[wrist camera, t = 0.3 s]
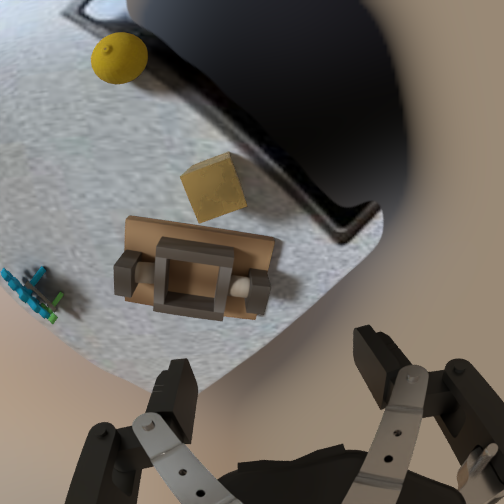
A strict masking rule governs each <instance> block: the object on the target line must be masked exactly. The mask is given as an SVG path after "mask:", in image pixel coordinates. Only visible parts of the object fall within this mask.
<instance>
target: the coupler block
mask: <svg viewBox="0 0 504 504" xmlns="http://www.w3.org/2000/svg"><path fill="white" fill-rule="evenodd" d="M180 179H181V181H182V183H183V186H184V188H185V191H186V193H187V196H188V198H189V201H190V203H191V206H192V208H193V210H194V213H195V215H196V218H197V220H198V222H199V224H200V223H202V222H205V221H208V220H211V219H213V218H216V217H219V216H221V215H224V214H227V213H230V212H233V211H235V210H238V209H241V208H244V207H247V203H246V200H245V196H244V193H243V190H242V186H241V183H240V181H239V178H238V175H237V172H236V170H235V167H234V164H233V161H232V159H231V156H230V153H229V152H226V153H224V154H221V155H218V156H215V157H213V158H210V159H207V160H205V161H202V162H199V163H197V164H194V165H192V166H191V167H190V168H189V169H188V170H187V171H186V172H184V173H183V174H182V175H181V176H180Z"/></svg>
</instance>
